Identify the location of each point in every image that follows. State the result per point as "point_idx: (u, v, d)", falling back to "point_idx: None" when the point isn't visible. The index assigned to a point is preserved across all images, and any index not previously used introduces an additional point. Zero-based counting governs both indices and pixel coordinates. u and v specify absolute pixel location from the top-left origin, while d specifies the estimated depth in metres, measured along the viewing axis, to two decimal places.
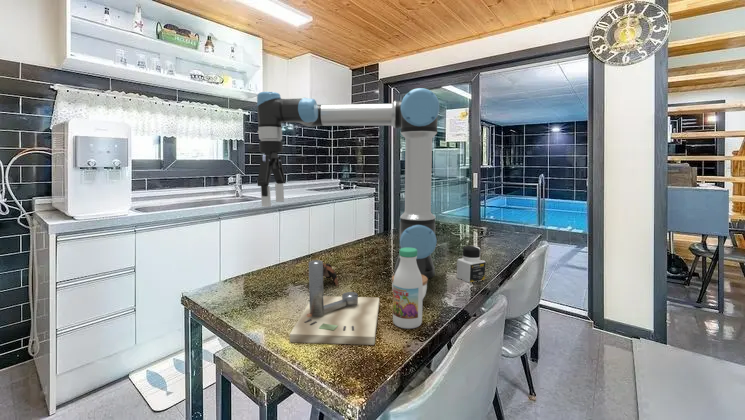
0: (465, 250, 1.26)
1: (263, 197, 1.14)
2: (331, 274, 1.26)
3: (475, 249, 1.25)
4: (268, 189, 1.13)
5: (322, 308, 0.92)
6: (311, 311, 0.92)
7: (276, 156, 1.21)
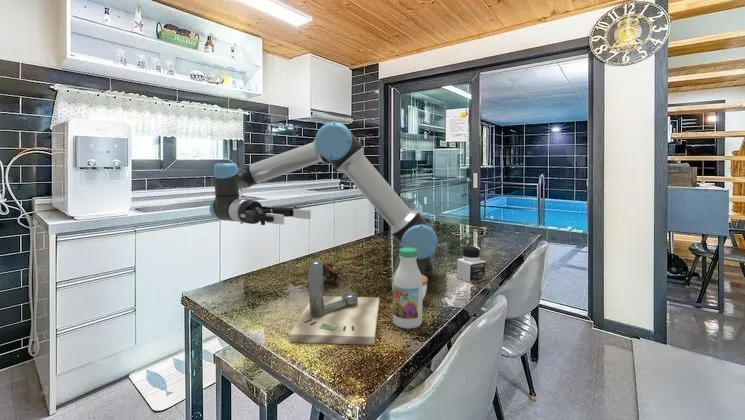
0: (465, 250, 1.26)
1: (274, 221, 1.01)
2: (332, 274, 1.26)
3: (475, 249, 1.25)
4: (268, 214, 1.02)
5: (322, 308, 0.92)
6: (311, 311, 0.92)
7: None
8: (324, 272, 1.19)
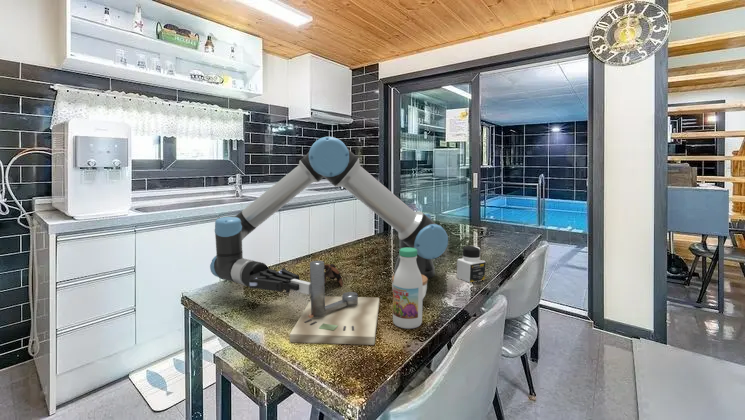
0: (465, 250, 1.26)
1: (300, 289, 0.94)
2: (335, 275, 1.25)
3: (475, 249, 1.25)
4: (293, 281, 0.95)
5: (324, 309, 0.92)
6: (313, 312, 0.91)
7: None
8: (328, 273, 1.18)
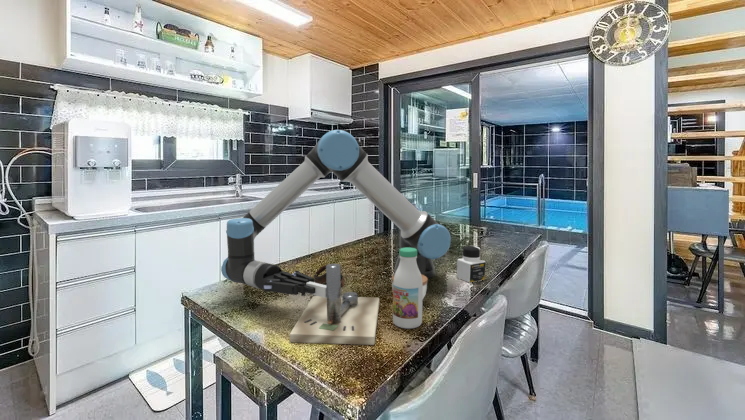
0: (465, 250, 1.26)
1: (316, 293, 0.91)
2: None
3: (475, 249, 1.25)
4: (309, 284, 0.92)
5: (341, 312, 0.90)
6: (332, 317, 0.88)
7: None
8: None
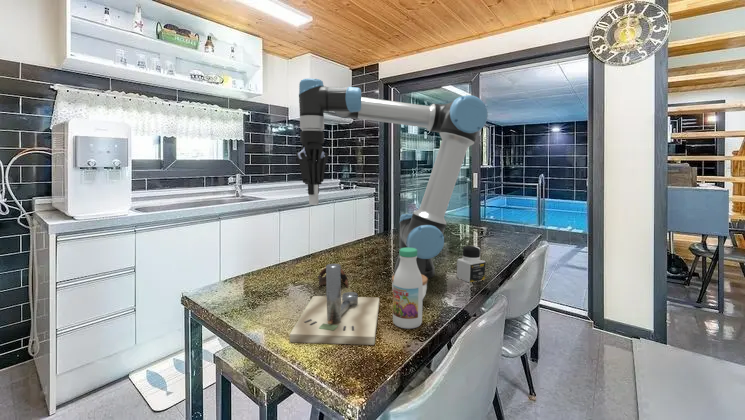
0: (465, 250, 1.26)
1: (310, 195, 1.15)
2: None
3: (475, 249, 1.25)
4: (314, 188, 1.14)
5: (341, 312, 0.90)
6: (332, 317, 0.88)
7: (320, 145, 1.15)
8: None
